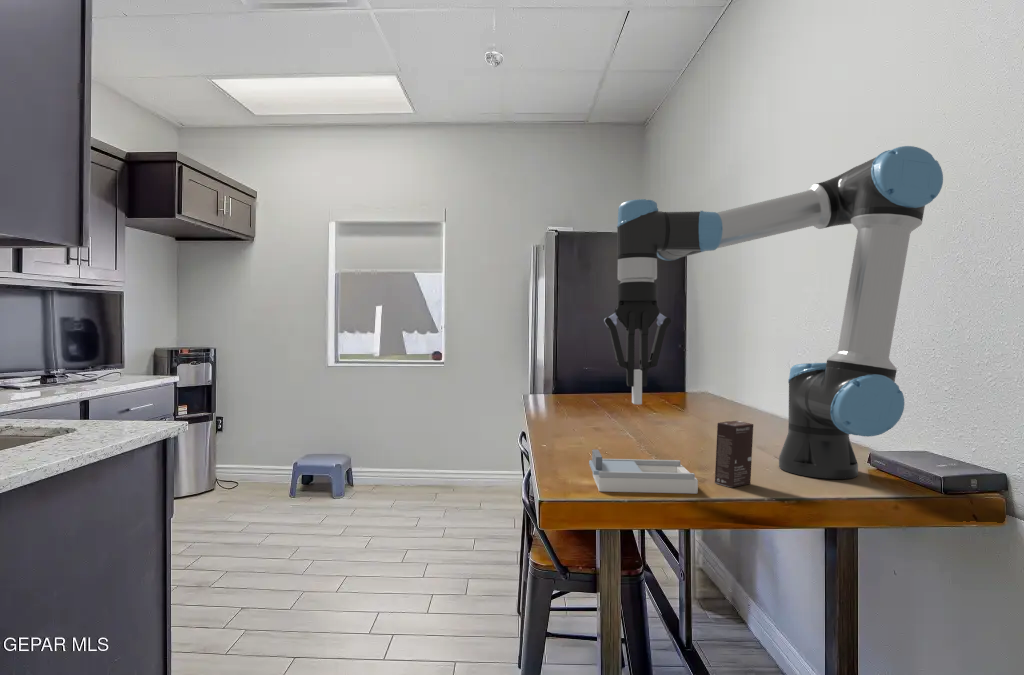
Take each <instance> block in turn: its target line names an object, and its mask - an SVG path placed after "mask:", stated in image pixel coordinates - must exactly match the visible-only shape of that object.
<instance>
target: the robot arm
mask: <svg viewBox="0 0 1024 675" xmlns="http://www.w3.org/2000/svg"><path fill="white" fill-rule="evenodd" d="M943 173H944V172H943V169H942V166H941V165H940V163H939V161H938V160H936V159H935V157H934V156H933V155H932V154H931V153H930V152H928V151H927V150H925V149H923V148H921V147H918V146H915V145H904V146H898V147H895V148H892V149H888V150H884V151H883V152H881V153H879V154H878V155H877V156H875V157H873V158H871V159H869V160H867V161H865V162H863V163H861V164H859V165H856V166H854V167H853V168H850V169H849V170H846V171H845V172H843V173H841V174H839V175H837V176H835V177H833V178H830V179H828V180H824V181H822V182H819V183H818V182H817V183H814V184H811V185H810V186H809V187H808V188H807V190H806V191H801V192H797V193H792V194H788V195H784V196H780V197H775V198H772V199H768V200H764V201H759V202H755V203H751V204H747V205H742V206H738V207H736V208H731V209H726V210H722V211H718V212H716V211H704V210H700V211H663V210H662V211H659V208H658V203H657V201H655V200H653V199H646V198H645V199H643V198H642V199H640V198H638V199H631V200H627V201H624V202H622V203H621V204H620V205H619V206H618V211H617V212H618V213H617V226H616V228H617V231H616V232H617V234H616V236H617V281H620V282H619V283H618V284H617V287H616V288H617V289H616V290H617V292H616V293H617V296H616V297H617V300H616V301H617V304H616V307H615V309H614V313H612V314H611V315H610V316H608V317H605V318H604V319H603V323H604V324H605V326H606V328H607V329H608V333H609V335H610V340H611V344H612V347H613V352H614V357H615V361H616V365H617V366H618V367H621V368H624V369H625V370H626V371H625V372H626V381H625V382H626V386H627V387H631V403H632V404H633V405H643V387H647V386H648V370H649V369H652V368H654V367H657V366H658V363H659V359H660V354H661V351H662V346H663V343H664V339H665V335H666V330H667V329H668V327H669V326H670V324H671V322H672V319H671V317H668V316H665V315H663V314H662V313H661V312H660V308H659V305H658V284H657V283H656V282H655V281H656V280H657V279H658V259H660V260H663V261H671V262H672V261H676V260H679V259H680V258H684V257H687V256H692V255H696V254H700V253H704V252H711V251H716V250H717V249H722V248H725V247H729V246H733V245H738V244H743V243H746V242H750V241H755V240H759V239H763V238H767V237H772V236H775V235H780V234H784V233H788V232H793V231H797V230H802V229H806V228H809V227H814V228H816V229H818V230H821V229H822V230H823V229H826V228H827V229H828V228H830V227H832V228H833V227H836V226H843V225H853V226H854V227H855V228H856V231H857V234H856V239H855V245H854V251H853V252H854V253H853V257H852V264H851V269H850V274H849V280H848V288H847V292H846V293H847V294H846V299H845V303H844V304H845V306H844V310H843V311H844V312H843V317H842V323H841V329H840V335H839V340H838V347H837V350H836V352H835V353H834V354H832V355H831V356H829V357H828V358H827V359H826V362H810V363H798V364H797V363H796V364H795V365H793V366H791V368H790V370H789V377H788V429H787V430H788V432H787V435H786V437H785V440H784V443H783V444H782V448H781V451H780V453H779V457H778V467H779V468H780V469H781V470H782V471H785V472H788V473H791V474H793V475H794V474H795V475H799V476H804V477H811V478H818V479H827V480H828V479H829V480H831V479H832V480H844V479H847V480H848V479H854V478H857V477H858V475H859V464H858V460H857V458H856V454H855V451H854V449H853V446H852V443H851V439H850V435H852V436H859V437H869V438H870V437H875V436H879V435H883V434H884V433H886V432H889V431H890V430H891V429H892V428H894V427H895V426H896V425H897V424H898V422H899V421H900V420H901V418H902V415H903V413H904V410H905V396H904V394H903V391H902V390H901V389H900V386H899V385H898V384H897V383H896V377H897V370H898V369H897V367H896V366H895V365H894V364H893V362H892V361H891V360H890V354H891V349H892V342H893V337H894V336H893V335H894V330H895V325H896V318H897V312H898V307H899V301H900V297H901V296H900V295H901V290H902V284H903V279H904V273H905V267H906V266H905V265H906V262H907V261H906V260H907V254H908V250H909V249H908V248H909V242H910V237H911V233H913V231H914V230H916V229H918V228H919V227H920V226H922V224H923V218H924V215H925V214H924V212H925V209H926V205H928V204H930V203H932V202H933V201H934V200H935V199H936V198H937V197H938V195H939V194H940V193H941V190H942V188H943V183H944V174H943ZM617 319H618V321H619V322H620V323H621V325H622V326H623V328H624V329H625V337H626V338H625V341H626V342H625V347H626V348H625V351H626V352H625V356H624V353H623V349H622V345H621V341H620V338H619V333H618V330H617V327H616V326H617V324H618V321H617ZM656 320H657V321H656ZM655 321H656V325H657V327H656V332H655V335H654V339H653V343H652V346H651V351H650V356H649V329H650V328H651V326H652V325H653V324H654V322H655ZM636 330H638V335H639V336H638V337H639V344H638V345H639V347H638V348H639V353H638V354H639V355H638V356H639V359H638V362H639V366H638V367H639V369H635V340H636V339H635V334H636ZM624 357H625V358H624Z"/></svg>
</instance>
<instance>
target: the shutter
mask: <svg viewBox="0 0 1024 675" xmlns="http://www.w3.org/2000/svg"><path fill="white" fill-rule="evenodd" d="M591 451H592V454H591V455H592V456H591V459H590V460H589V461H588V465H589V468H590V470H591V472H592V475H593V474H594V475H599V471H620V472H642V471H641V470H640V469H639V467H638V466H637V465H636V463H635V462H634V461H603V460H602V459H603V456H602V454H601V452H600V450H599V449H592V450H591Z"/></svg>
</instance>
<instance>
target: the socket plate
mask: <svg viewBox="0 0 1024 675" xmlns="http://www.w3.org/2000/svg"><path fill="white" fill-rule="evenodd" d="M602 460H603V461H634V462H635V463H636V465H637V466H638V467H639V469H640V470H641V471H642V472H620V471H599V475H594V474H593V473H592V477H593V480H594V482H595V485H596V487H597V489H598V492H605V493H606V492H612V493H613V492H614V493H617V492H618V493H655V494H656V493H658V494H659V493H660V494H661V493H663V494H698V492H699V491H698V490H699V489H698V488H699V480H698V479H697V477H695V475H696V474H695V473H694V472H690V471H689V470H688V469H686V467H685V466H684V465H682V464H681V460H680V459H676V460H675V459H638V458H637V459H635V458H633V459H632V458H602Z"/></svg>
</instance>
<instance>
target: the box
mask: <svg viewBox="0 0 1024 675" xmlns="http://www.w3.org/2000/svg"><path fill="white" fill-rule="evenodd" d="M716 428H717V429H716V451H715V453H716V454H715V467H714V468H715V470H714V483H715V484H716V485H718V486H722V487H728V488H735V487H736V488H737V487H740V486H746V485H751V482H752V481H751V480H752V478H751V477H752V462H753V461H752V456H753V438H754V436H753V435H754V424H753V423H749V422H745V421H739V420H732V421H726V420H725V421H722V422H718V423H717V427H716Z"/></svg>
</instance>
